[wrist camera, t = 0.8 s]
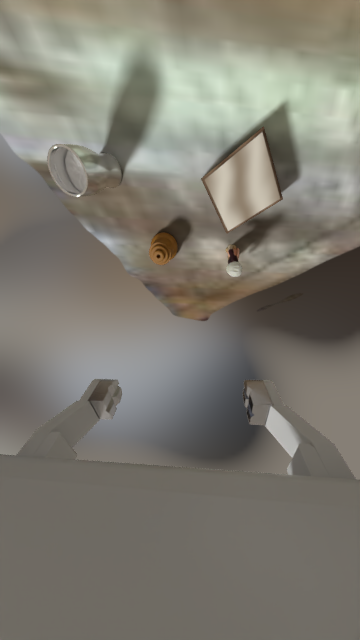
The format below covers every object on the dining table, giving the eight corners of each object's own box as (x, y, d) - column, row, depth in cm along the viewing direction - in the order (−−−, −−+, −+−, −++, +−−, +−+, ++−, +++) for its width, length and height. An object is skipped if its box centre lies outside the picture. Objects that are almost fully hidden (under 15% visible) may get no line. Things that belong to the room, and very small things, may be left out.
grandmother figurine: (243, 260, 48) (250, 282, 38) (229, 266, 49) (233, 289, 40) (234, 234, 44) (239, 252, 34) (219, 241, 45) (221, 260, 36)
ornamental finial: (183, 248, 48) (164, 263, 52) (165, 225, 45) (147, 243, 49) (179, 259, 42) (158, 275, 46) (158, 233, 39) (137, 253, 43)
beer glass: (122, 153, 37) (83, 146, 26) (125, 193, 41) (92, 201, 30) (91, 146, 37) (38, 137, 26) (97, 187, 41) (54, 194, 30)
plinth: (258, 130, 32) (264, 125, 28) (276, 196, 37) (283, 199, 34) (202, 177, 37) (200, 178, 34) (225, 228, 43) (226, 234, 39)
